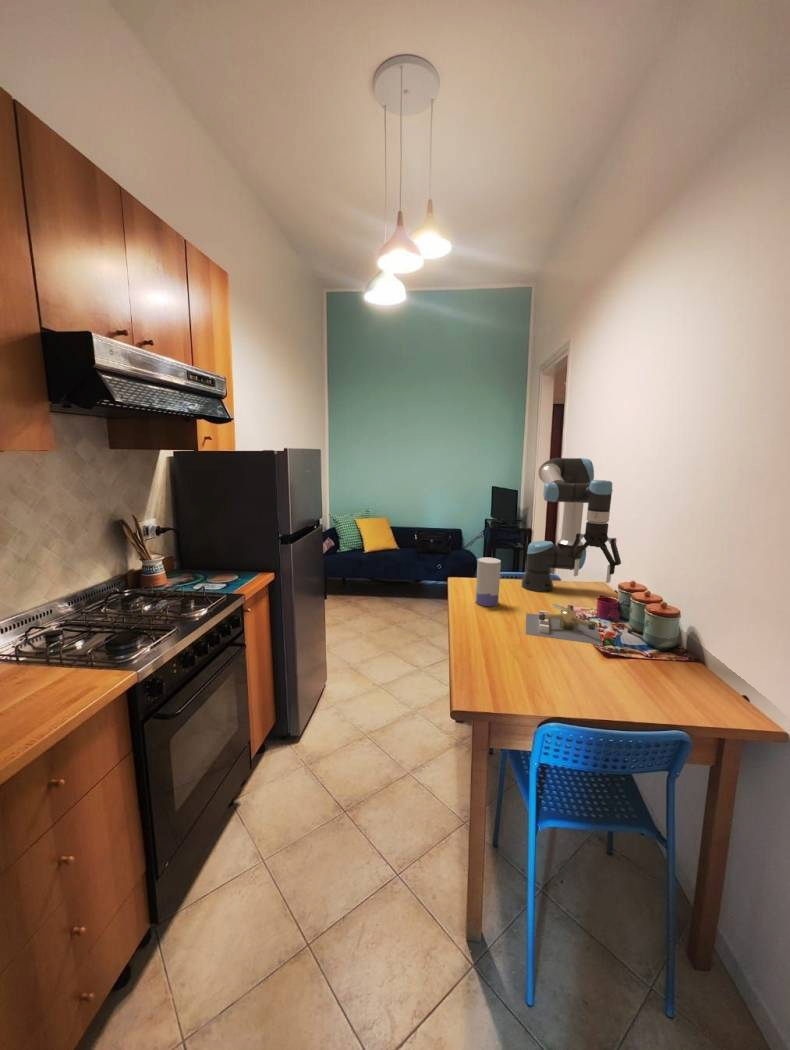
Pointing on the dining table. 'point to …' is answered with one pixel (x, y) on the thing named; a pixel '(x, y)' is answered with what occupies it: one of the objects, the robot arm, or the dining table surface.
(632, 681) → the dining table surface
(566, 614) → the gold quadcopter drone
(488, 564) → the container
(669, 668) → the dining table surface
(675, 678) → the dining table surface
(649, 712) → the dining table surface
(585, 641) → the stand
